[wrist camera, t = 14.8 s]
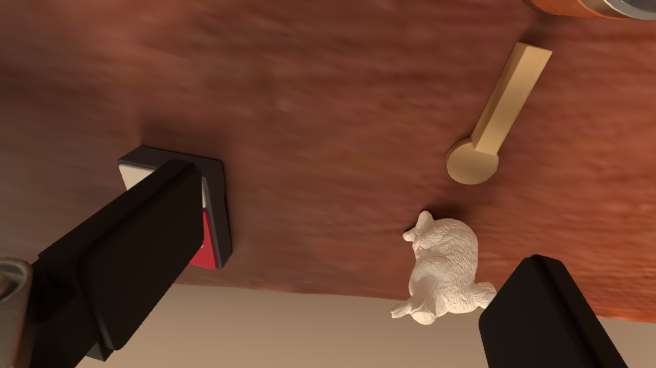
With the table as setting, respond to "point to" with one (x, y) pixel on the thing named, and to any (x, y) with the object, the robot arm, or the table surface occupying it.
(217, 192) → the calculator
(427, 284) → the white squirrel figurine
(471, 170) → the wooden spoon
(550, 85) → the table surface
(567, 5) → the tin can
